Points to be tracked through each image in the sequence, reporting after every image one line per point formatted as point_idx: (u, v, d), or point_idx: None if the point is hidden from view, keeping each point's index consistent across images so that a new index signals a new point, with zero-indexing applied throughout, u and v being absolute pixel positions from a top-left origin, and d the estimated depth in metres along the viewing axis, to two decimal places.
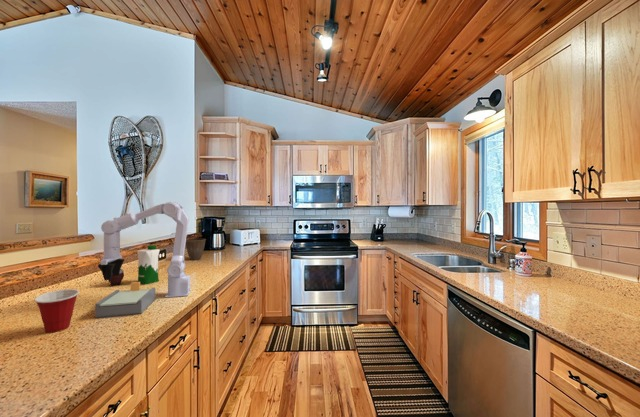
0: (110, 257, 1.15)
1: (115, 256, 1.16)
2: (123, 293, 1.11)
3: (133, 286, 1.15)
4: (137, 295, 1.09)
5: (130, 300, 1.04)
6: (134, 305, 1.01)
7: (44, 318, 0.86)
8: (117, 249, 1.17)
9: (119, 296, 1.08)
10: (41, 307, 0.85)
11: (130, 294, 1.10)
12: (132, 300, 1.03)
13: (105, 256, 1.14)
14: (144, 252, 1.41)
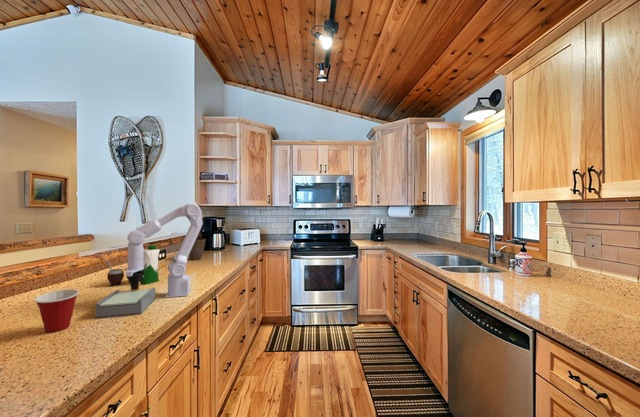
0: (134, 268, 1.13)
1: (139, 267, 1.14)
2: (123, 293, 1.11)
3: None
4: (137, 295, 1.09)
5: (130, 300, 1.04)
6: (134, 305, 1.01)
7: (44, 318, 0.86)
8: (141, 260, 1.15)
9: (119, 296, 1.08)
10: (41, 307, 0.85)
11: (130, 294, 1.10)
12: (132, 300, 1.03)
13: (129, 267, 1.13)
14: (144, 252, 1.41)
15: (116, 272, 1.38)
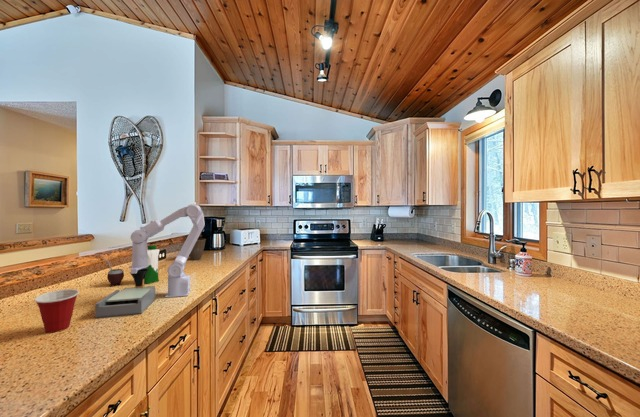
0: (138, 266, 1.18)
1: (143, 265, 1.19)
2: (128, 290, 1.16)
3: None
4: (141, 291, 1.14)
5: (135, 296, 1.08)
6: (134, 305, 1.01)
7: (44, 318, 0.86)
8: (145, 258, 1.20)
9: (124, 292, 1.13)
10: (41, 307, 0.85)
11: (134, 291, 1.15)
12: (137, 296, 1.08)
13: (134, 265, 1.17)
14: None
15: (116, 272, 1.38)
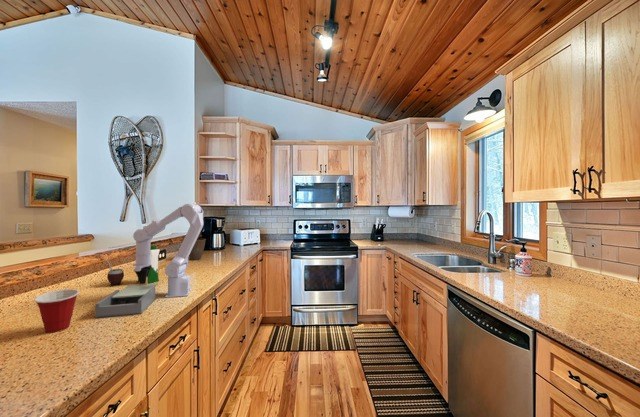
0: (142, 264, 1.22)
1: (146, 263, 1.23)
2: (132, 287, 1.20)
3: None
4: (144, 288, 1.18)
5: (139, 292, 1.12)
6: (134, 305, 1.01)
7: (44, 318, 0.86)
8: (148, 256, 1.24)
9: (128, 289, 1.17)
10: (41, 307, 0.85)
11: (138, 288, 1.19)
12: (141, 293, 1.12)
13: (137, 263, 1.22)
14: None
15: (116, 272, 1.38)
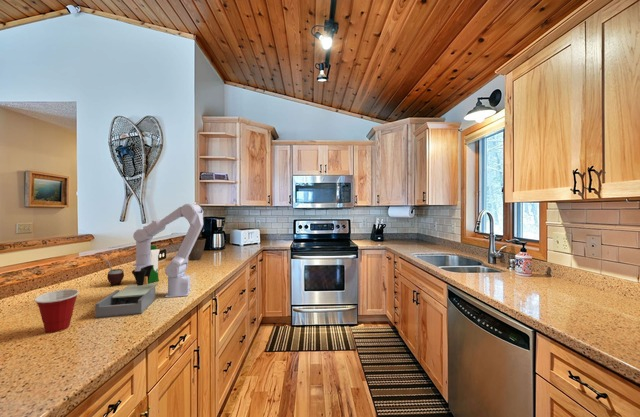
0: (142, 264, 1.22)
1: (146, 263, 1.23)
2: (132, 287, 1.20)
3: None
4: (145, 288, 1.18)
5: (139, 292, 1.12)
6: (134, 305, 1.01)
7: (44, 318, 0.86)
8: (148, 256, 1.24)
9: (128, 289, 1.17)
10: (41, 307, 0.85)
11: (138, 288, 1.19)
12: (141, 293, 1.12)
13: (137, 263, 1.22)
14: None
15: (116, 272, 1.38)
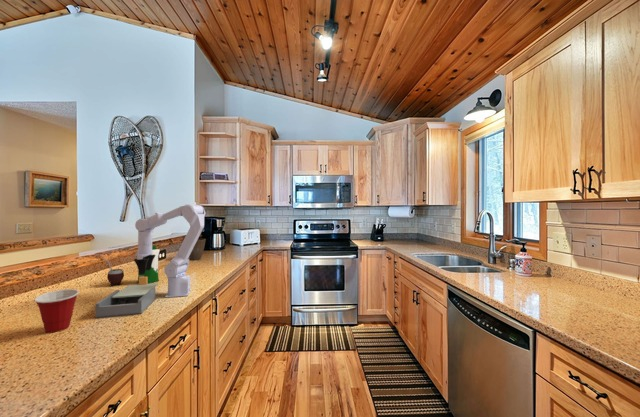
0: (144, 252, 1.24)
1: (148, 252, 1.26)
2: (132, 287, 1.20)
3: (141, 280, 1.24)
4: (145, 288, 1.18)
5: (139, 292, 1.12)
6: (134, 305, 1.01)
7: (44, 318, 0.85)
8: (150, 245, 1.26)
9: (128, 289, 1.17)
10: (41, 307, 0.85)
11: (138, 288, 1.19)
12: (141, 293, 1.12)
13: (140, 252, 1.24)
14: None
15: (116, 272, 1.38)
